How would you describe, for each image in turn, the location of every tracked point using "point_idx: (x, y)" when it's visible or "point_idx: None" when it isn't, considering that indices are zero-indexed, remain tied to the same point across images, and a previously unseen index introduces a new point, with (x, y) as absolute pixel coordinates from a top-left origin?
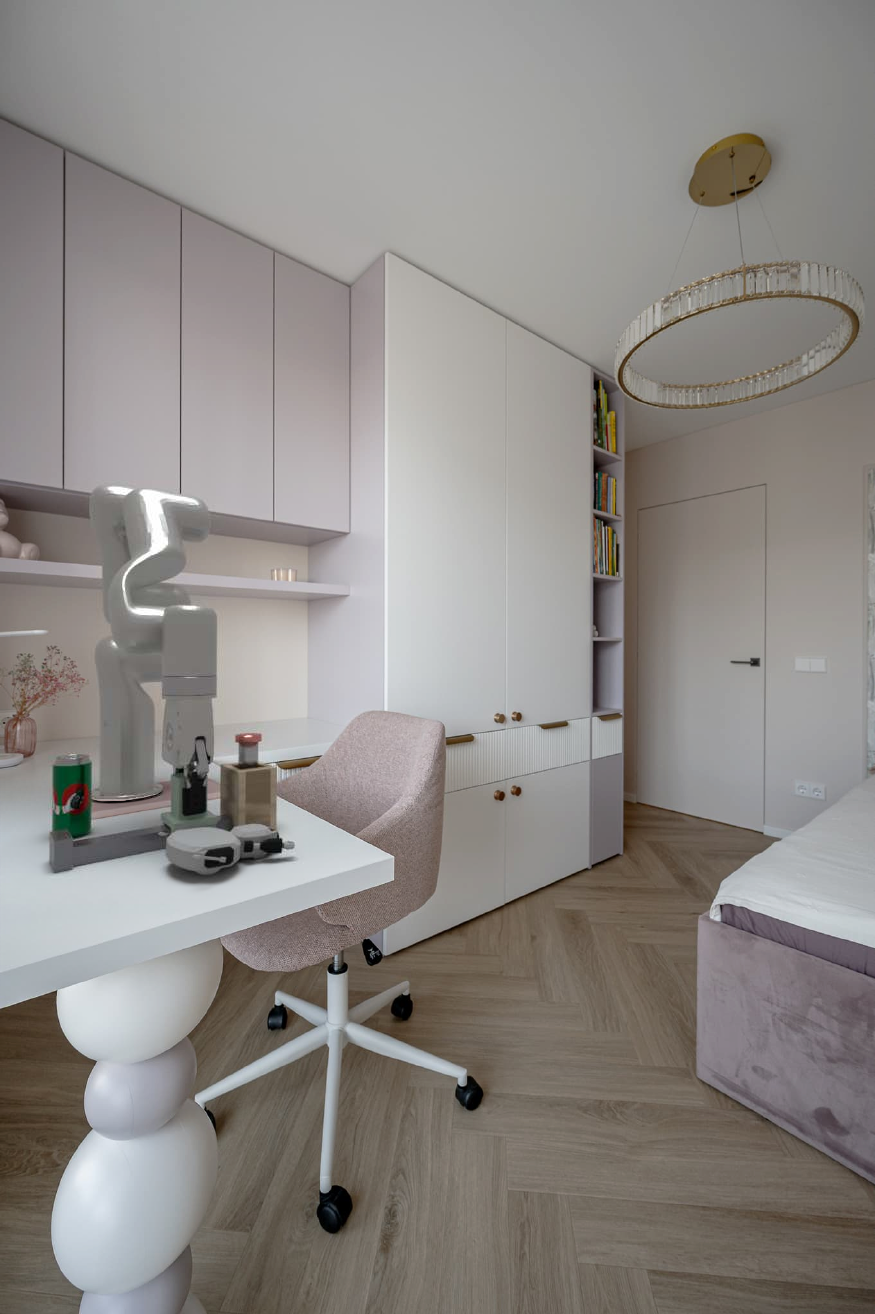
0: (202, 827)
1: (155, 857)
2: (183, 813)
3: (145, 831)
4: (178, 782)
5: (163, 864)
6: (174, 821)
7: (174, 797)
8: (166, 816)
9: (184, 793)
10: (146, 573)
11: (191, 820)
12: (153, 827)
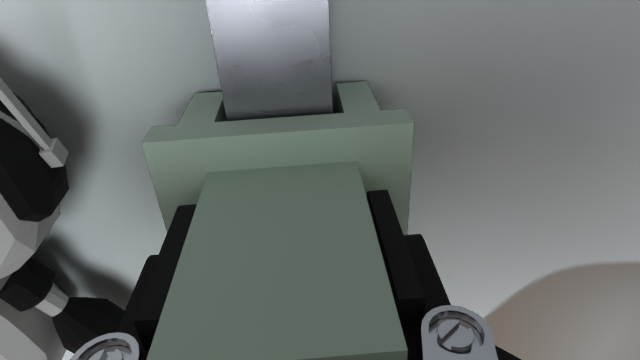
0: (4, 234)
1: (119, 7)
2: (179, 210)
3: (264, 2)
4: (170, 338)
5: (3, 19)
6: (194, 151)
7: (291, 231)
8: (325, 135)
9: (144, 299)
10: None
11: (171, 217)
12: (320, 54)
